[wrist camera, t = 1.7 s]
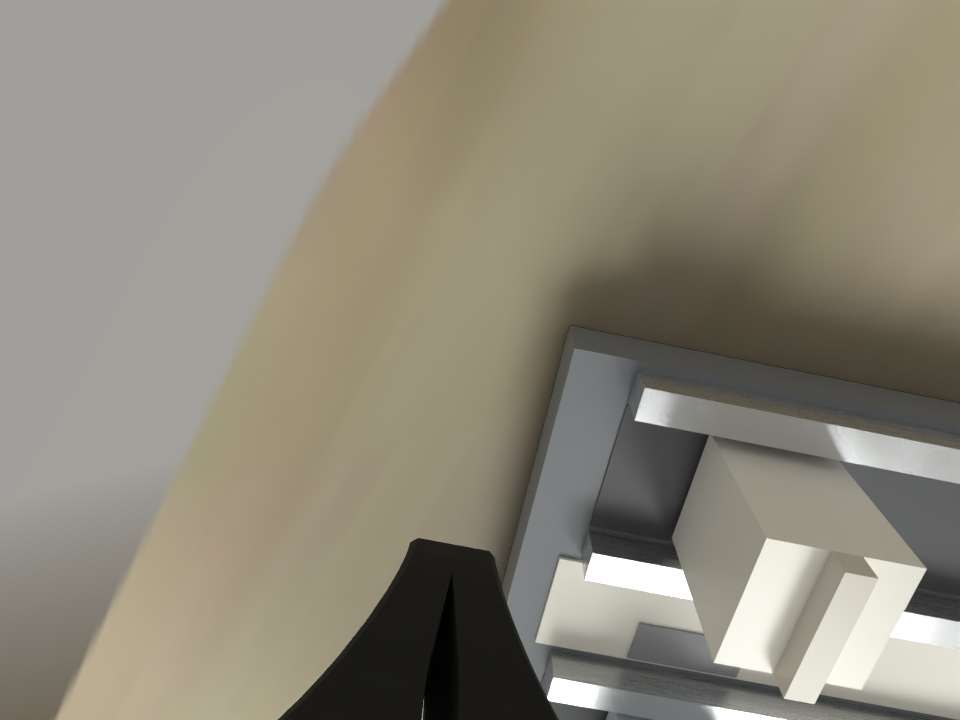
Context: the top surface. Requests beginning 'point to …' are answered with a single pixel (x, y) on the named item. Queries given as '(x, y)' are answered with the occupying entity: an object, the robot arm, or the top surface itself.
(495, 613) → the robot arm
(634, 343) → the switch panel
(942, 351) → the top surface
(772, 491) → the tab
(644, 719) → the tab
